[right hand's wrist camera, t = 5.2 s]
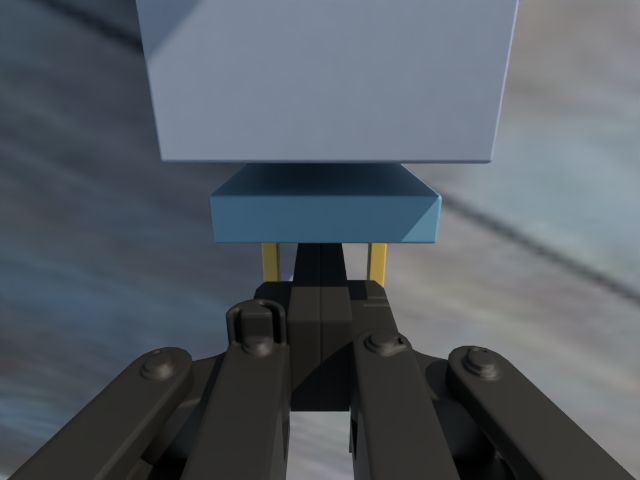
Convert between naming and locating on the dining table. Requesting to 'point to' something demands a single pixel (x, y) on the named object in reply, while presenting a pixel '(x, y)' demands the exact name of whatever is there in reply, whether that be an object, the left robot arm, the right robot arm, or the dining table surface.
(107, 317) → the dining table surface
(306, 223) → the drawer
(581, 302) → the dining table surface
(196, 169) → the dining table surface
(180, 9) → the cabinet
